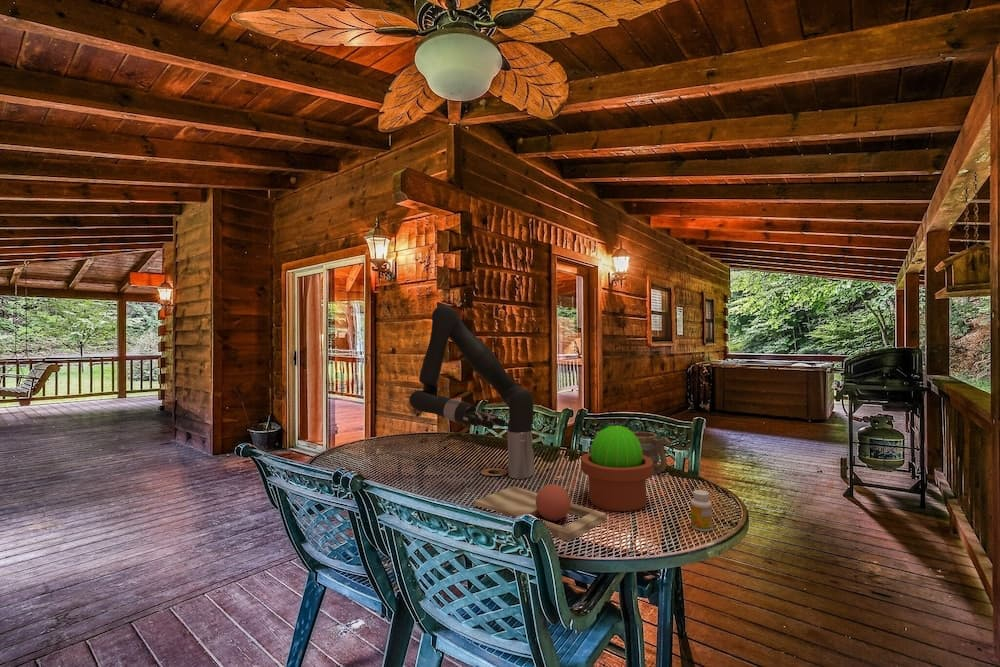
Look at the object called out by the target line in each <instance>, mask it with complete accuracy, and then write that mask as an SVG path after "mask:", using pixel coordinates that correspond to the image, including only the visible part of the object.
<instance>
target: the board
mask: <svg viewBox="0 0 1000 667" xmlns="http://www.w3.org/2000/svg"><path fill="white" fill-rule="evenodd" d="M537 494H538V492H534V491H531V490H528V489H523V488H521V487H518V486H515V485H513V486H510V487H507V488H504V489H502V490H499V491H496V492H494V493H491V494H488V495H486V496H483V497H481V498H478V499H475V500H474V507H475V506H478V507H482V508H488V509H489V510H494V511H496V512H494V513H496V514H499V513H502V515H505V516H512V517H516V516H520V515H522V514H531V515H533V516H535V517H536V518H538V517H539V516H541V514H540V513H539V512H538V510H537V507H536V496H537ZM481 510H482V511H484V510H483V509H481ZM490 512H491V511H490ZM490 512H489V513H490ZM497 512H499V513H497ZM567 514H571V515H575V516H577V517H580V518H578V519H576V520H574V521H572V522H571V523H569V524H567V525H564V526H562V525H559V524H555V523H553V522H550V521H549V520H548V521H547V520H546V519H545V520H544V519H542V518H540V519H541V520H543V521H544V522H545V524H546V526H547V527H548V528H549V530H550V532H551V533H552V535H551V536H553V537H556V538H559V539H561V540H564V541H567V542H571V541H572V540H574V539H577V538H578V537H579V536H581V535H583V534H585V533H586V532H588V531H590V530H592V529H594V528H595V527H597V526H599V525H601V524H602V523H604V522H606V521H607V513H606V512H602V511H599V510H595V509H591V508H589V507H585V506H582V505H578V504H576V503H572V502H570V509H569V511H568V513H567Z"/></svg>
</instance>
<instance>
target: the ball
mask: <svg viewBox="0 0 1000 667" xmlns="http://www.w3.org/2000/svg"><path fill="white" fill-rule="evenodd" d="M537 493H538V494H537V496H536V507H537V510H538V512H539V513H540V514H541V515H540V516H541V517H543V518H544V519H545V520H548V521H552V522H554V521H555V522H556V521H560V520H562V519H564V518H565V517H566V515H567V514H569V513H568V511H569V509H570V503H571V498H570V495H569V494H568V492H567V489H565V488H564V487H563V486H561V485H559V484H556V483H550V484H545V485H544V486H543V487H541V488H540V489H539V490H538V492H537Z"/></svg>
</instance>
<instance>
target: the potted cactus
mask: <svg viewBox="0 0 1000 667" xmlns="http://www.w3.org/2000/svg"><path fill="white" fill-rule="evenodd" d="M618 424H619V423H617V425H615V423H612V424H605V425H603V427H601V428H599V429H598V431H596V435H594V436H593V437H594V438H593V439H592V443H591V446H590V452H587V453H583V455H581V457H580V461H581V462H580V470H581V471H582V472H583V473H584V474H585V475H586V476H588V498H589V501H590V502H591V504H592V505H593V506H595V507H597V508H600V509H602V510H606V511H610V512H632V511H637V510H641V509H643V508H644V507H645V506H646V505H647V480H648V479H650V478H652V477H653V476H654V475H653V474H654V463H653V461H652V459H650V458H649V457H647V456H644V455H643V452H642V447H641V444H640V442H639V440H638V438H637V437H636V436H635V434H634V433H633V432H634V431H633V430H630V429H629V428H630V427H629V426H628V427H626V426H622V425H621V424H619V425H618ZM643 449H644V448H643Z"/></svg>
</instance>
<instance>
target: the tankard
mask: <svg viewBox="0 0 1000 667" xmlns="http://www.w3.org/2000/svg"><path fill="white" fill-rule="evenodd" d="M632 432H633V433H634V434H635V436H636V437H637V438H638V440H639V442H640V444H641V447H642V452H643V455H644V456H647V457H649V458H650V459H652V461H653V463H654V474H653V476H654V475H658V474H659V475H660V474H661V472H665V470H666V468H667V463H668V462H667V461H668V460H667V455H666V451H665V445H666V446H670V445H671V443H672V441H670V439H669V438H668V437H663V438H660V439H658V434H656V433H654V432H651V431H632ZM643 448H644V449H643ZM659 461H660V464H658V463H659Z"/></svg>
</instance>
